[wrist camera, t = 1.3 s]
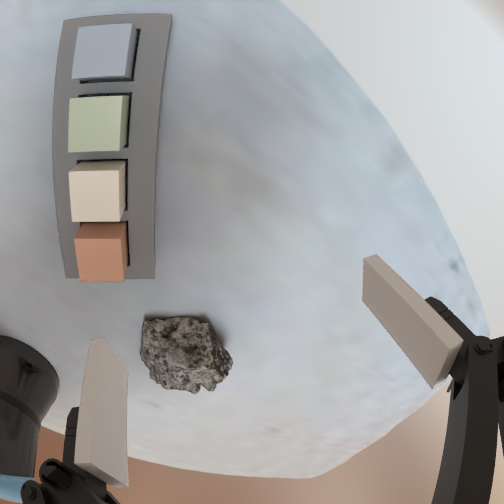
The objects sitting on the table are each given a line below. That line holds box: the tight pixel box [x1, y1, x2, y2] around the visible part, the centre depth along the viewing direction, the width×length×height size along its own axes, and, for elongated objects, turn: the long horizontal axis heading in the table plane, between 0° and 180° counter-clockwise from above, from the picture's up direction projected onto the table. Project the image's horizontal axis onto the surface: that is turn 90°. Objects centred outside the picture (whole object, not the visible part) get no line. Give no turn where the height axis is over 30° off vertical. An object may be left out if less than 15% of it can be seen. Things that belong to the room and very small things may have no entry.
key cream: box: [69, 160, 126, 222], centre depth 24 cm, size 4×4×4 cm
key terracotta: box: [74, 221, 128, 282], centre depth 27 cm, size 4×4×4 cm
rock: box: [140, 317, 233, 394], centre depth 38 cm, size 13×10×10 cm
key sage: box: [68, 96, 130, 153], centre depth 22 cm, size 4×4×4 cm
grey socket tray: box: [52, 14, 172, 279], centre depth 25 cm, size 10×26×3 cm, turn 172°
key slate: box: [71, 23, 138, 81], centre depth 19 cm, size 4×4×4 cm
